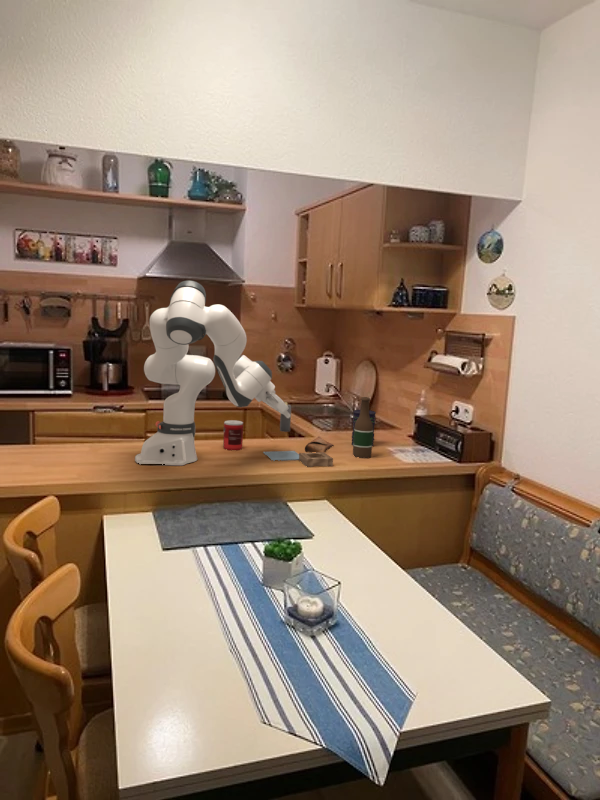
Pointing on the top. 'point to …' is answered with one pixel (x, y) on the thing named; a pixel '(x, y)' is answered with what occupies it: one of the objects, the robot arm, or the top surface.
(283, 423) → the plug
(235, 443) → the canned food
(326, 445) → the sunglasses case
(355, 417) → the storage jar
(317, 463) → the socket
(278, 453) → the mat
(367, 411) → the beer bottle
